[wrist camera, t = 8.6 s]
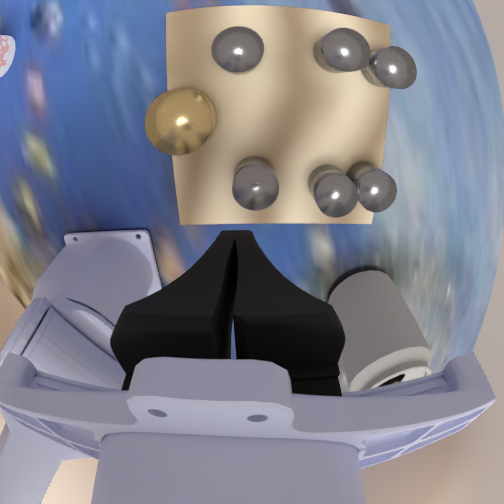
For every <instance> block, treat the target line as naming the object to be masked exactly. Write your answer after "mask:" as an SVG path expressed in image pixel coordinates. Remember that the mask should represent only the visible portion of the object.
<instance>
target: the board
mask: <svg viewBox="0 0 504 504" xmlns="http://www.w3.org/2000/svg"><path fill="white" fill-rule="evenodd" d="M235 26H242V27H247V28H250V29H252V30H254V31H255V32H256V33H258V34H259V36H260V37H261V39H262V40H263V43H264V54H263V56H262V59H261V61H260V63H259V65H258V66H257V67H256V68H255V69H254V70H253V71H251V72H249V73H246V74H242V75H236V74H231V73H228V72H227V71H225V70H224V69H222V68H221V67H220V66H219V65H218V64H217V63H216V62H215V60H214V59H213V56H212V52H211V47H212V43H213V41H214V39H215V37H216V36H217V35H218V34H219V33H220V32H221V31H223V30H225V29H227V28H230V27H235ZM337 28H350V29H353V30H355V31H357V32H359V33H360V34H361V35H362V36H363V37H364V38H365V39H366V40H367V42H368V44H369V46H370V50H375V49H380V48H385V47H390V25H386V24H383V23H379V22H376V21H372V20H368V19H364V18H359V17H355V16H350V15H345V14H340V13H334V12H328V11H322V10H314V9H306V8H296V7H283V6H257V5H247V6H220V7H207V8H197V9H189V10H182V11H175V12H169V13H166V61H167V90H168V91H169V90H173V89H194V90H198V91H200V92H202V93H204V94H205V95H207V96H208V97H209V98H210V99H211V100H212V102H213V104H214V106H215V108H216V112H217V122H216V126H215V129H214V131H213V133H212V134H211V136H210V137H209V138H208V139H207V141H206V142H205V143H204V144H203V145H202V146H201V147H200V148H199V149H197V150H196V151H194V152H192V153H190V154H186V155H181V156H175V155H172V159H173V169H174V178H175V187H176V195H177V203H178V211H179V218H180V225H198V224H251V223H337V224H371V223H372V219H373V214H374V212H370V211H368V210H366V209H365V208H364V207H363V206H362V205H361V204H360V202H359V201H358V202H357V204H356V206H355V208H354V209H353V210H352V211H351V212H350V213H349V214H347V215H345V216H343V217H339V218H333V217H329V216H326V215H325V214H323V213H322V212H321V211H320V209H319V208H318V206H317V204H316V202H315V200H314V198H313V197H312V195H311V193H310V191H309V189H308V178H309V176H310V174H311V172H312V171H313V170H314V169H315V168H317V167H318V166H321V165H324V164H331V165H334V166H336V167H338V168H339V169H340V170H341V171H342V172H343V173H344V174H345V175H346V174H347V172H348V170H349V168H350V167H351V166H352V165H353V164H355V163H356V162H359V161H369V162H371V163H373V164H374V165H376V166H377V167H379V168H380V169H381V168H382V161H383V153H384V146H385V137H386V128H387V117H388V105H389V89H390V88H385V87H377V86H374V85H372V84H370V83H369V82H368V81H367V80H366V79H365V78H364V76H363V74H362V72H361V70H358V71H352V72H344V73H331V72H328V71H326V70H324V69H323V68H321V67H320V66H319V65H318V64H317V62H316V61H315V58H314V55H313V48H314V45H315V43H316V42H317V40H319V39H320V38H321V37H323V36H324V35H326V34H328V33H329V32H331V31H333V30H334V29H337ZM249 156H260V157H263V158H265V159H267V160H268V161H269V162H270V163H271V164H272V166H273V168H274V171H275V174H276V177H277V180H278V183H279V194H278V197H277V199H276V200H275V202H274V203H273V204H272V205H271V206H269V207H268V208H266V209H263V210H258V211H253V210H248V209H245V208H243V207H242V206H240V205H239V204H238V203H237V202H236V200H235V199H234V196H233V193H232V185H233V178H234V171H235V168H236V166H237V165H238V163H239V162H240V161H241V160H243V159H244V158H246V157H249Z"/></svg>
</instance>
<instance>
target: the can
mask: <svg viewBox="0 0 504 504" xmlns="http://www.w3.org/2000/svg"><path fill="white" fill-rule="evenodd" d="M328 304H330V305H332V306H333V308H334V310H335V312H336V313H337V315H338V317H339V319H340V321H341V324H342V326H343V329H344V333H345V337H346V340H345V346H344V348H343V351H342V353H341V359H342V362H343V366H344V370H345V374H346V378H347V382H348V386H349V390H350V391H351V392H353V391H359V390H365V389H371V388H376V387H381V386H386V385H391V384H396V383H400V382H404V381H409V380H413V379H417V378H420V377H424V376H428V375H431V369H430V368H429V365H430V362H431V359H432V352H431V350H430V348H429V346H428V344H427V342H426V340H425V338H424V336H423V334H422V332H421V330H420V328H419V326H418V325H417V323H416V321H415V319H414V317H413V315H412V313H411V312H410V310H409V308H408V306H407V304H406V303H405V301H404V299H403V297H402V296H401V294H400V292H399V290H398V289H397V287H396V285H395V284H394V282H393V280H392V279H391V278H390V277H389V276H388V275H387V274H385V273H383V272H381V271H373V270H369V271H364V272H359V273H356V274H354V275H352V276H349V277H348V278H346V279H345V280H344V281H343V282H341V283H340V284H339V285H338V286H337V287H336V288H335V289H334V291H333V292H332V293H331V295H330V298H329V301H328Z"/></svg>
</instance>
